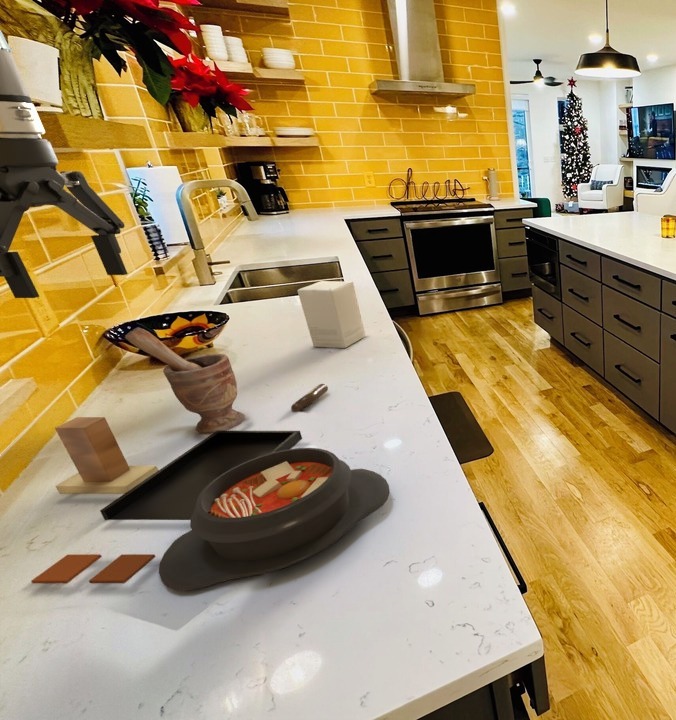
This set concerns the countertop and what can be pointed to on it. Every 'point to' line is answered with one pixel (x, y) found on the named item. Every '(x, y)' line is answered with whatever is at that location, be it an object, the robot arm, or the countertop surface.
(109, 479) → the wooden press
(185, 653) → the countertop surface
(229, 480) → the casserole
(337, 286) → the rectangular carton
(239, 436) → the griddle pan
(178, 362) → the mortar and pestle
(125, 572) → the plate
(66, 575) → the plate
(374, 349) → the countertop surface
